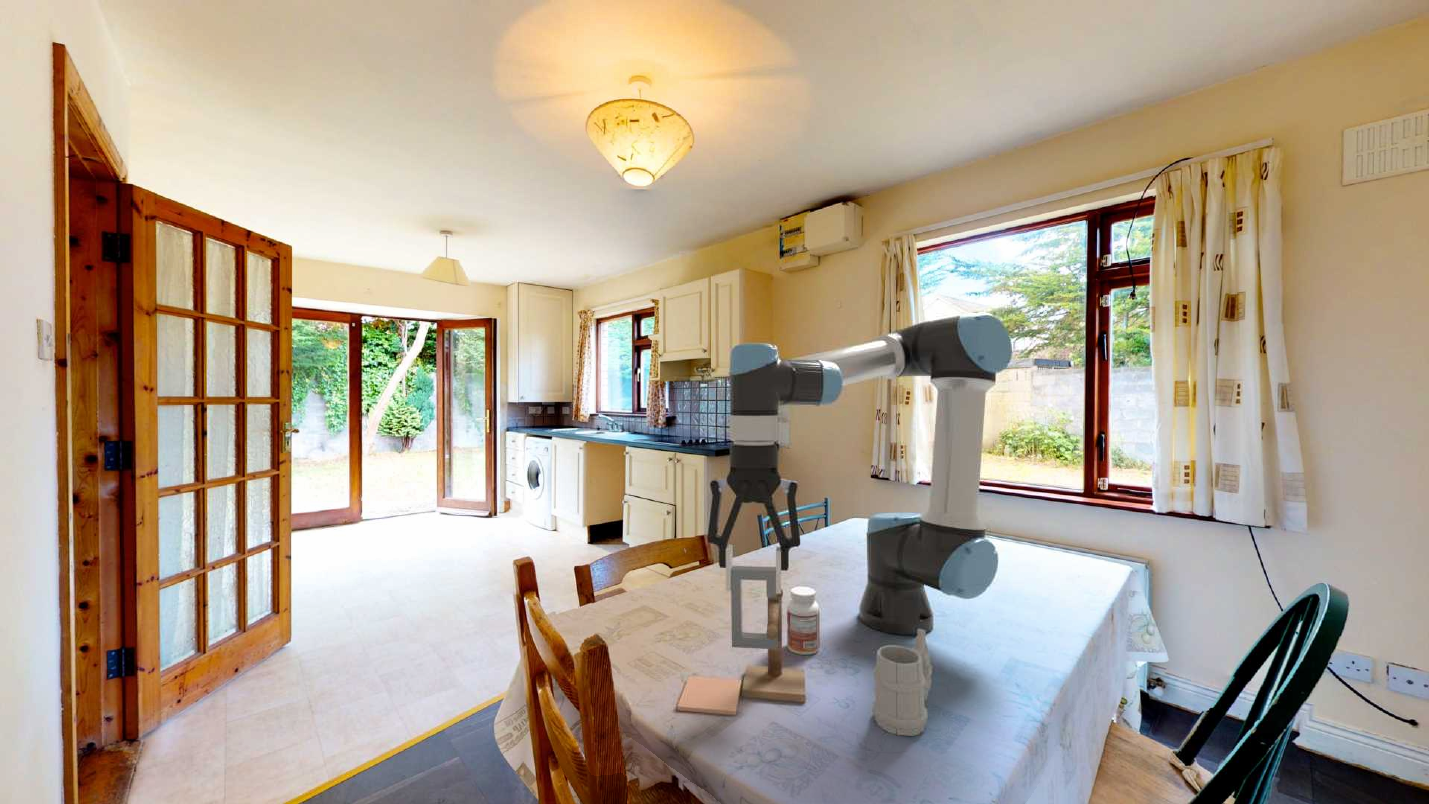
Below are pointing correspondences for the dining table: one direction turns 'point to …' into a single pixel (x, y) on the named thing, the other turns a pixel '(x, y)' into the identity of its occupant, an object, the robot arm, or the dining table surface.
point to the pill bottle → (803, 622)
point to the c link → (737, 576)
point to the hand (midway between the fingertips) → (753, 589)
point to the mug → (902, 687)
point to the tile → (710, 695)
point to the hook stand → (774, 666)
